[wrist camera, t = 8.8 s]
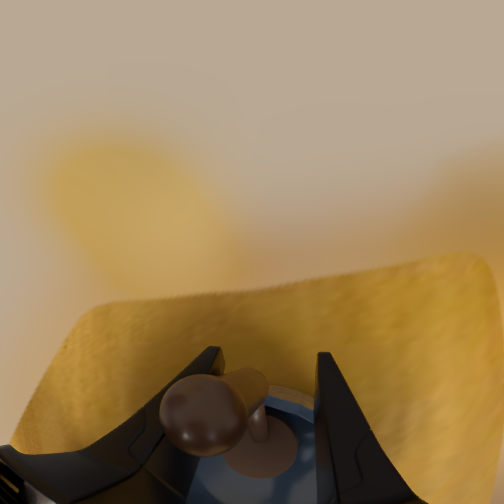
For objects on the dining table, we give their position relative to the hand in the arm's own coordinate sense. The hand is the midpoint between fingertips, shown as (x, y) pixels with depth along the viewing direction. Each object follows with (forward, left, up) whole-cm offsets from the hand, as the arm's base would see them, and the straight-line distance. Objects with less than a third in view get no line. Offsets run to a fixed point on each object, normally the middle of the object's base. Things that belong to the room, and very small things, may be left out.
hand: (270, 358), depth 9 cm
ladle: (-4, 0, -7) cm, 8 cm away
